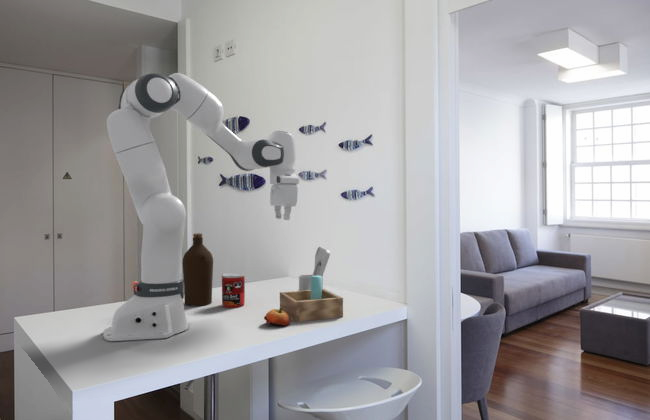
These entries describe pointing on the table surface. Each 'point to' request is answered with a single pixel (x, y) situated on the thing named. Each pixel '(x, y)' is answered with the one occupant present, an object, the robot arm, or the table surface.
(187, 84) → the robot arm
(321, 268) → the phone holder
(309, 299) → the box
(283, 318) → the tomato
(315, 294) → the peg
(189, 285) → the olive oil
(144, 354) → the table surface
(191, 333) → the table surface
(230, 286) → the canned food
